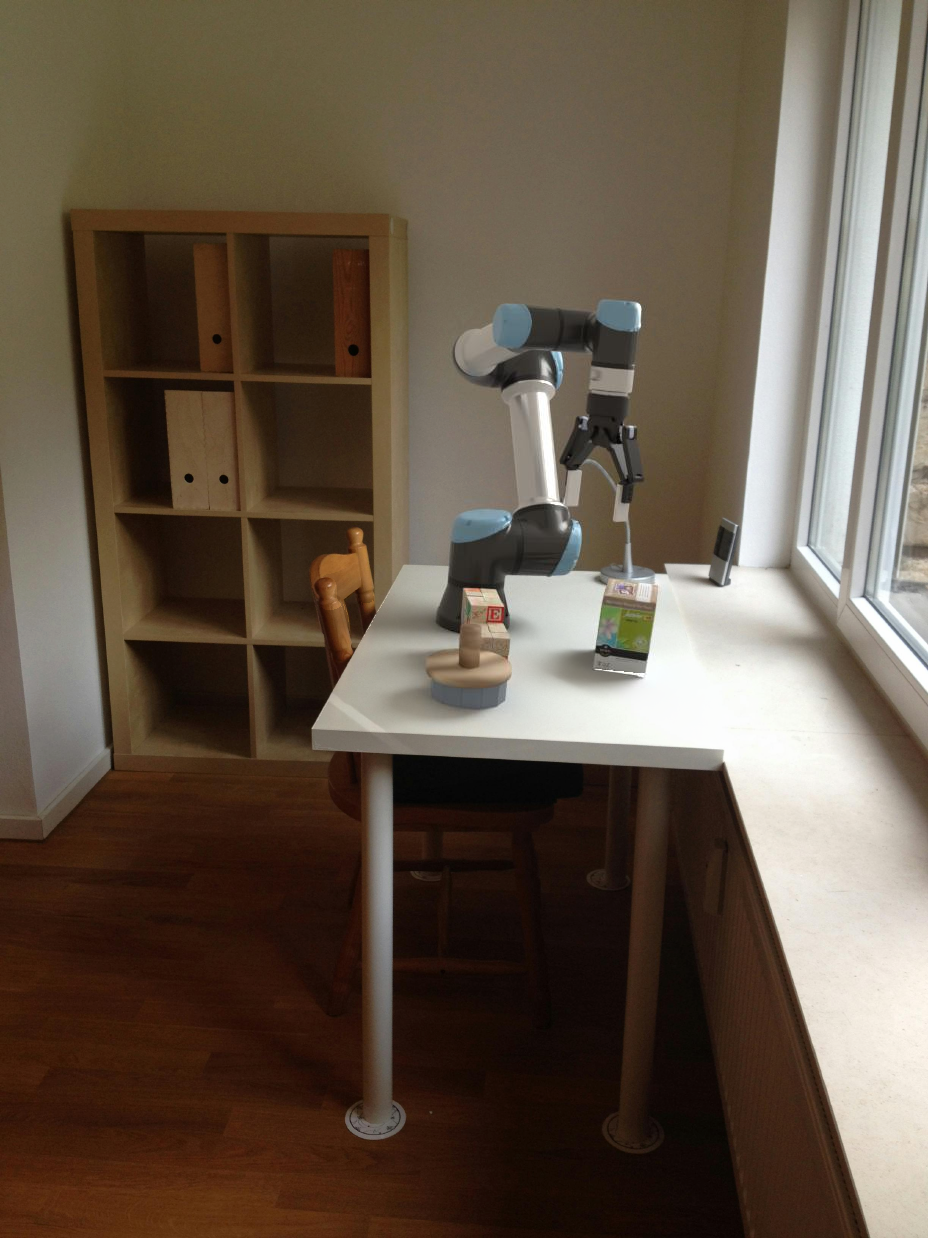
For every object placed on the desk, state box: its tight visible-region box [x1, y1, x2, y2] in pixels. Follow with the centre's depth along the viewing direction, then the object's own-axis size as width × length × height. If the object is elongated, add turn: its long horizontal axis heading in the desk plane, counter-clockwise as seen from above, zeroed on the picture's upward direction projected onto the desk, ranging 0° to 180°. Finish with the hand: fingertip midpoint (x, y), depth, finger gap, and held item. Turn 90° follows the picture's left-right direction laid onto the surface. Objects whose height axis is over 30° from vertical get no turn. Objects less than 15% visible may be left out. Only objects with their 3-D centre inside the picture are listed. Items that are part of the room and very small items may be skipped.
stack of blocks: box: [458, 588, 511, 661], centre depth 185 cm, size 21×6×12 cm, turn 6°
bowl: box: [430, 679, 508, 710], centre depth 169 cm, size 12×12×5 cm
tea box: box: [592, 578, 659, 674], centre depth 194 cm, size 15×10×15 cm, turn 168°
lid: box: [425, 623, 513, 689], centre depth 167 cm, size 14×14×8 cm
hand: (594, 513), depth 185 cm, fingers open, 13 cm apart
